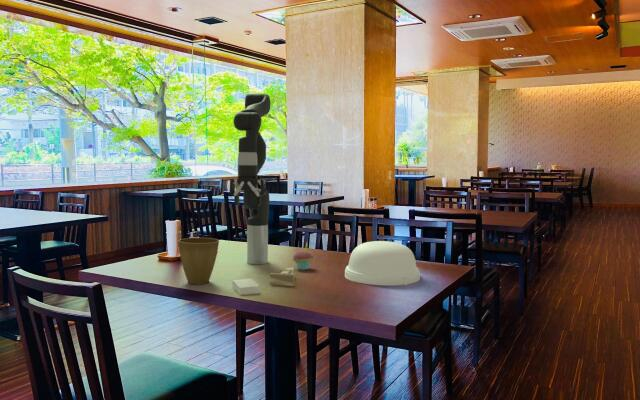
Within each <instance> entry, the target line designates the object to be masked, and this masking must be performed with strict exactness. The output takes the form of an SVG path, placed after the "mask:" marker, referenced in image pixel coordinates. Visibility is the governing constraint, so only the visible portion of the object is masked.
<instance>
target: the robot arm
mask: <svg viewBox="0 0 640 400" xmlns="http://www.w3.org/2000/svg"><path fill="white" fill-rule="evenodd" d="M270 111H271V98H270V96H269V95H268V94H266V93H247V94H245V97H244V109H242V110H240V111H238V112H236V113H235V115H234V116H233V117H234V118H233V125H234V128H235V129H236V130H238V131H242V132H244V131H245V136H242V137H240V138H239V139H238V155H237V179H236V178H230V180H229V194H230V195H232V196H234V199H233V202H234V203H233V204H234V205H235V206H238V207H239V206H240V194H241V192H243V195H242V196H243V197H242V198H243V205H244V208H246V209H248V210H258V211H257V213H256V214H255V215H254V216H253V215H252V216H251V217H248V218H247V220H246V226H247V227H246V228H247V229H246V235H247V236H246V237H247V238H246V241H247V242H246V245H247V246H246V248H247V249H246V251H247V252H246V253H247V254H246V257H247V258H246V260H247V261H246V263H247V264H249V265H264V264H268V262H269V257H268V256H269V244H268V243H269V217H270V216H269V215H270V193H269V190H267V189H266V188H267V186H266V184H267V183H266V179H263V178H262V179H258V174H259V173H260V171H261V169H263V166H264V164H265V162H266V161H267V144H266V142H265V139H264V137H263V136H262V134H261V133H260V129H261V126H262V117H264V116H266V115H268V114H269V113H270ZM236 184H238V186H237V188H236ZM258 184H259V185H260V188H258V186H257V185H258Z"/></svg>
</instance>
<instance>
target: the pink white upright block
mask: <svg viewBox="0 0 640 400" xmlns="http://www.w3.org/2000/svg"><path fill="white" fill-rule="evenodd" d="M232 288H233V289H234V290H235V291H236V293H238V295H240V296H241V295H244V296H245V295H252V294H260V293H261V286H260V285H259V284H258V283H257V282H256V281H255V280H254V279H252V278H243V279H233V280H232Z"/></svg>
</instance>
